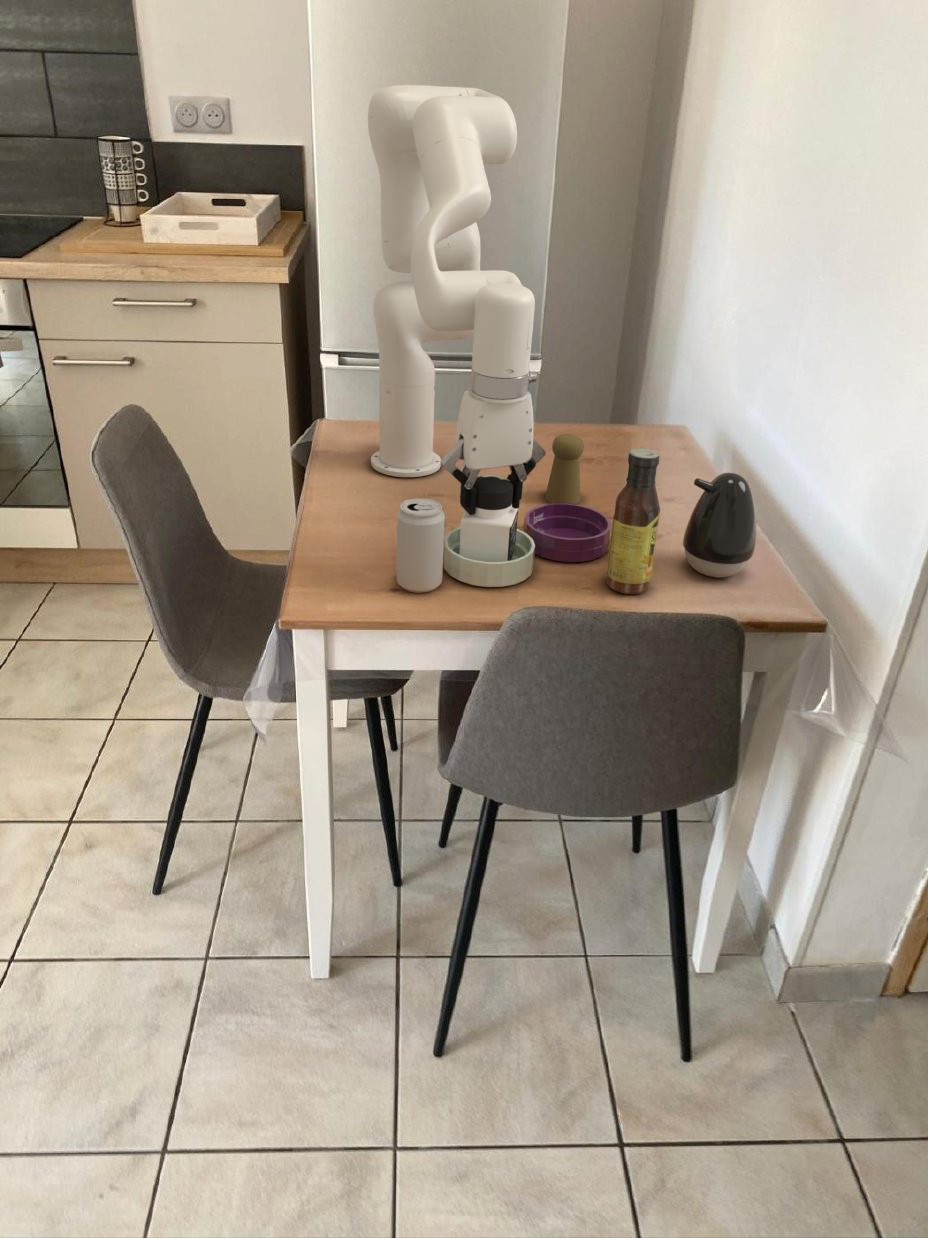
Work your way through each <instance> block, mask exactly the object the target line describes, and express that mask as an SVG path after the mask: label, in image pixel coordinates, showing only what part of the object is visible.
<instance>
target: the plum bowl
mask: <svg viewBox="0 0 928 1238" xmlns="http://www.w3.org/2000/svg"><path fill="white" fill-rule="evenodd" d="M523 520H524V521H523V530H522V531H523V532H525V533H526V534H528V535H529V536H530V537H531V538H532V539H533V541H534V544H535V555H537V556H539V557H541V558H545V559H548V560H552V561H558V562H563V563H564V562H565V563H582V562H587V561H593V560H595V559H598V558H600V557H602V556H604V555H605V554H606V552H608V550H609V545H610V538H611V530H612V522H611V520H610V518H609V517H608V516H606V515H605V514H604V513H603V512H601V511H600V510H597V509H595V508H592V507H590V506H586V505H581V504H569V503H545V504H540V505H537V506H534V507H532V508H531V509H529V510H528V511H526V513H525V515H524V519H523Z"/></svg>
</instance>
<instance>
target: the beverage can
mask: <svg viewBox="0 0 928 1238" xmlns="http://www.w3.org/2000/svg"><path fill="white" fill-rule="evenodd" d="M399 505H400V506H399V510H398V511H397V514H396V515H397V516H396V582H397V584H398V585H399V586H400V587H402V588H403V589H404V590H406V591H407V592H412V593H417V594H418V593H419V594H422V593H428V592H431V591H434V590H435V589H437V588H438V587H440V585H441V584H442V582H443V570H444V569H443V568H444V564H443V554H444V539H445V519H446V517H445V513H444V511H443V505H442V504H441V503H440V502H438V501H437V500H435V499H431V498H427V497H426V498H425V497H414V498H409V499H406V500H403V502H401V503H400V504H399Z"/></svg>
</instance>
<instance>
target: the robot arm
mask: <svg viewBox="0 0 928 1238" xmlns="http://www.w3.org/2000/svg"><path fill="white" fill-rule="evenodd" d="M517 126H518V125H517V121H516V117H515V115H514V112H513V110H512V108H511V106H510V104H508V102H507V101H506V100H505V99H504V98H502V97H501V96H498V95H496V94H493V93H492V92H491V93H490V92H488V91H486V90H484V89H481V88H476V87H466V86H465V87H463V86H444V85H443V86H442V85H429V84H428V85H427V84H426V85H425V84H398V85H397V84H396V85H389V86H385V87H382V88H380V89H378V90H377V91H375V92H374V93H373V95H372V96H371V99H370V101H369V105H368V113H367V127H368V128H367V129H368V136H369V140H370V145H371V148H372V152H373V155H374V158H375V162H376V165H377V169H378V173H379V179H380V181H379V182H380V219H381V220H380V223H381V224H380V225H381V227H380V228H381V251H382V257H383V261H384V263H385V265H386V267H387V268H388V269H389V270H391V271H392V272H396V273H402V274H403V273H404V274H410V275H411V280H409V281H396V282H391V283H388V284H386V285H384V286H382V287H381V288H380V289H378V291H377V292H376V293H375V296H374V298H373V318H374V323H375V330H376V336H377V344H378V346H377V347H378V358H379V359H378V365H379V366H378V367H379V371H378V373H379V375H378V378H379V450H377V451H376V452H373V454H372V455H371V456H370V457H371V458H370V466H371V467H372V468H373V470H375V471H376V472H378V473H380V474H382V475H386V476H390V477H395V478H418V477H419V478H420V477H426V476H429V475H432V474H435V473H437V471H440V468H441V467H443V468H444V469H445V470H446V471H447V472H448V473H449V474H450V475H451V476H453V477H454V479H456V480H457V481H458V482H459V483H460V494H459V504H460V506H461V508H463V510H464V511H467V513H468V514H469V515H474V514H475V511H476V496H477V490H476V488H475V487H474V483H475V481H476V479H477V477H479V474H480V473H481V470H489V469H490V470H491V469H495V468H497V469H498V468H504V467H505V468H506V467H509V471H510V474H507V476H506V479H508V480H510V481H511V482H512V484H513V498H512V507H513V508H515V509H517V508H518V509H519V508H520V504H521V503H520V502H521V500H522V498H523V486H524V482H526V481H527V479H528V475H530V473H531V472H532V471H533V470H534V469H535V468H536V466H537V464H539V463H540V461H541V460H542V459H543V458H544V457H545V456H546V454H547V452H546V450H545V449H544V448H543V446H542V445H540V443H539V442H538V441H537V440H535V438H534V428H535V427H534V409H533V400H532V395H531V392H530V391H529V389H530V384H531V383H535V382H536V381H538V375H537V372H536V371H531V370H530V366H531V365H530V364H531V353H532V344H533V343H532V342H533V330H534V320H535V318H534V317H535V307H536V299H535V295H534V293H533V291H531V290H530V288H528V287H526V286H524V285H522V282H521V280H520V279H519V277H518V276H517V275H516V274H515V273H513V272H511V271H509V270H501V269H492V270H489V269H488V270H481V255H482V252H481V250H482V249H481V247H482V246H481V245H482V244H481V235H480V230H479V226H478V221H479V220H480V219H482V218H483V217H484V216H485V215H486V214H487V212H488V211H489V209H490V208H491V207H490V206H491V204H492V194H491V189H490V185H489V182H488V177H487V173H486V169H485V165H501V164H502V165H503V164H506V163H508V162H509V161H510V159H512V158H513V155H514V154H515V151H516V147H517V144H518V127H517ZM472 335H473V336H472ZM471 336H472V355H471V372H470V375H471V376H470V389H469V390H465V391H464V393H463V396H462V399H461V403H460V407H459V412H458V416H457V422H456V428H455V429H456V430H455V438H454V445H453V446H452V448H451V449H450V450H449V451H448V452H447V453H446V454H445V455H444V456H443V457H442V458H441V456H440V455H439V454H438V453H436V452H435V451H434V428H435V427H434V426H435V399H436V398H435V395H436V394H435V393H436V369H435V364H434V362H433V360H432V359H431V357H430V355H428V353H427V352H426V351H425V350H424V348H423V346H422V344H423V343H428V342H437V341H438V342H439V341H457V340H464V339H467V338H469V337H471ZM459 460H461V461H464V462H463V464H462V466H461V469H460V468H459V467H457V465H456V463H457V462H458V461H459Z"/></svg>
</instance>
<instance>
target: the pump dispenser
mask: <svg viewBox="0 0 928 1238" xmlns="http://www.w3.org/2000/svg"><path fill="white" fill-rule="evenodd" d="M693 485H694V486H695V487H698V488H699V489H701V490H703V492H702V494H701V495H700V497H699V498H698V500H697V502H696V503H695V506H694V507H693V510H692V512H691V514H690V517H689V519H688V522H687V525H686V526H685V527H686V528H685V531H684V534H683V539H682V546H683V547H684V554H685V558H686V561H687V563H689V565H690V566H691V567H692V568H693V569H694V570H695V571H697V572H698V573H699V574H702V575H704V576H707V577H711V578H728V577H732V576H734V575H736V574H738V573H740V572H741V571H742V570H743V569H744V568H745V567H746V566H747V564H748V563H749V560H750V559H752V557H753V556H754V553H755V548H756V540H757V539H756V538H757V513H756V507H755V506H756V505H755V501H754V496H753V492H752V489H751V487H750V485H749V483H748V480H747V479H746V478H745V477H744V476H743V475H741V474H739V473H736V472H732V471H731V472H730V471H728V472H723V473H720V474H719V475H717V476H716V477H714V478H713V479H712V480H711V482H710V481H708V480H704V479H701V478H699V477H696V478H695V479H694V480H693Z"/></svg>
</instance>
